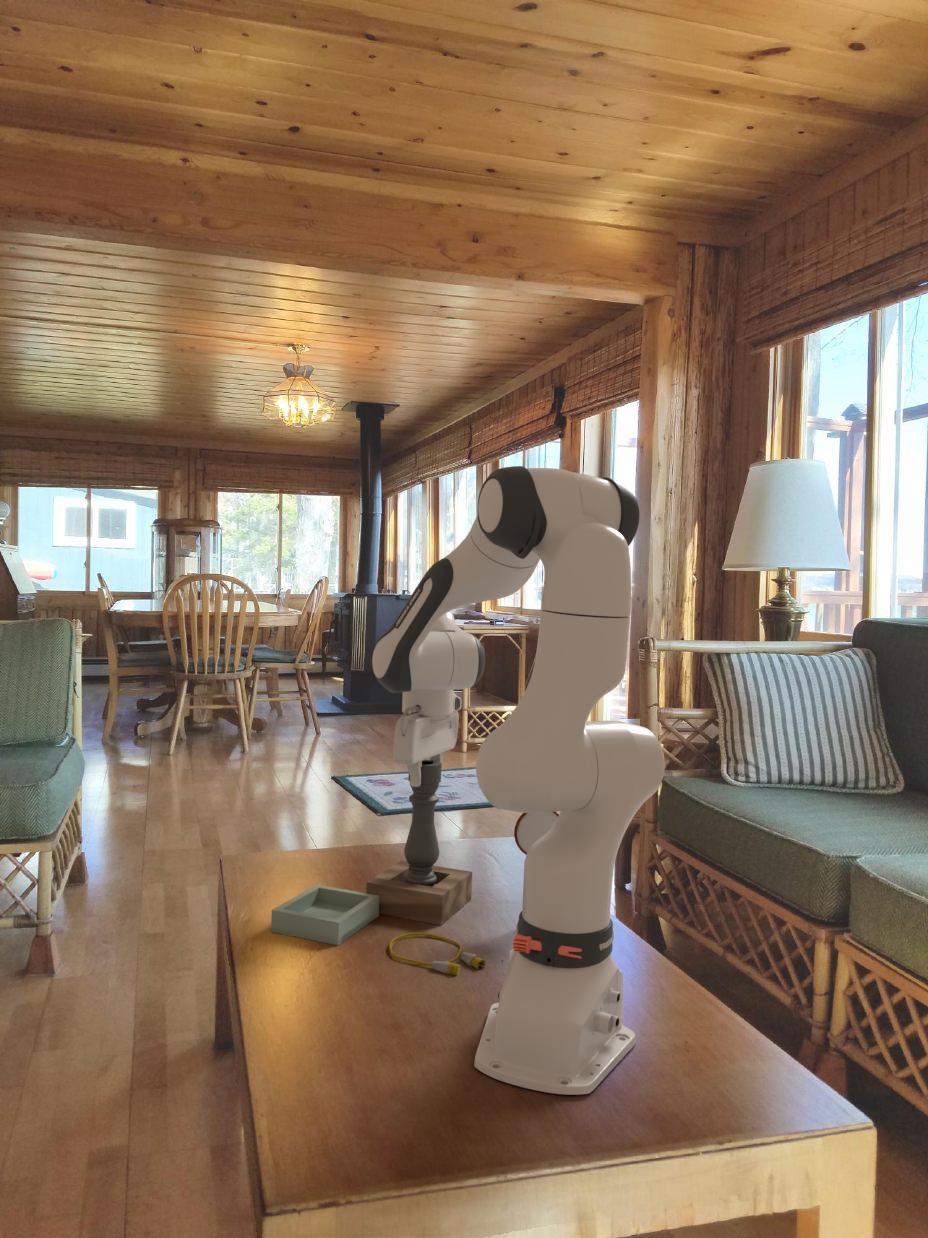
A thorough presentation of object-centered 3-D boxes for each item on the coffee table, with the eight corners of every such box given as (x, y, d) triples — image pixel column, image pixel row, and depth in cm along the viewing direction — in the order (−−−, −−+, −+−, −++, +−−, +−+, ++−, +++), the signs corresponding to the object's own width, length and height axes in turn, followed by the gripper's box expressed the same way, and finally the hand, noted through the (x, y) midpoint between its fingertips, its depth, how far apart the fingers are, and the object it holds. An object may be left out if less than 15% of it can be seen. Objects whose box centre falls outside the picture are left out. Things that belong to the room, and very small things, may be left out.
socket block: (441, 925, 148) (442, 895, 147) (365, 911, 153) (366, 882, 152) (471, 899, 161) (472, 871, 161) (400, 887, 166) (401, 860, 166)
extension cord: (409, 985, 126) (409, 971, 126) (378, 943, 140) (379, 930, 140) (489, 975, 130) (489, 962, 130) (451, 935, 145) (452, 923, 145)
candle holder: (436, 912, 153) (442, 767, 153) (400, 910, 154) (406, 765, 153) (438, 900, 160) (443, 760, 159) (403, 898, 160) (409, 758, 159)
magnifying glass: (558, 923, 151) (563, 804, 150) (561, 926, 149) (567, 807, 149) (508, 924, 149) (514, 805, 149) (511, 928, 147) (516, 807, 147)
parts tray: (338, 945, 137) (338, 922, 137) (270, 932, 142) (271, 910, 142) (378, 916, 151) (379, 895, 150) (316, 904, 155) (316, 884, 155)
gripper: (420, 710, 145) (417, 796, 145) (465, 698, 164) (462, 774, 164) (385, 707, 147) (381, 791, 147) (433, 696, 166) (430, 770, 167)
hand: (424, 782), depth 156 cm, fingers closed on candle holder, 6 cm apart
